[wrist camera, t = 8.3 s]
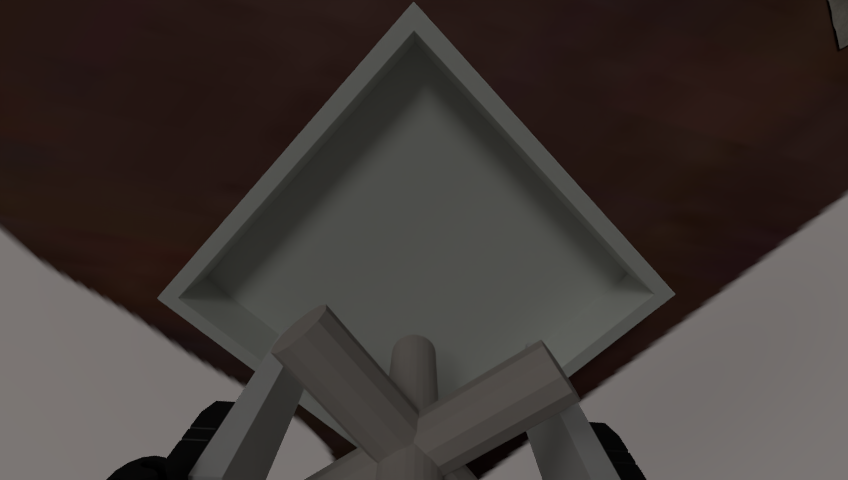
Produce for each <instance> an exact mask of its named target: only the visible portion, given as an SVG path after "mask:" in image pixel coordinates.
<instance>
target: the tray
mask: <svg viewBox="0 0 848 480" xmlns="http://www.w3.org/2000/svg"><path fill="white" fill-rule="evenodd" d="M674 295H675V293H674V292H673V291H672V290H671V289H670V288H669V286H668V285H667V284H666V283H665V282H664V281H663V280H662V279H661V277H660V276H659V275H658V274H657V273H656V272H655V271H654V270H653V269H652V267H651V266H650V265H649V264H648V263H647V262H646V261H645V260H644V258H643V257H642V256H641V255H640V254H639V253H638V252H637V251H636V250H635V248H634V247H633V246H632V245H631V244H630V243H629V242H628V241H627V239H626V238H625V237H624V236H623V235H622V234H621V233H620V232H619V231H618V229H617V228H616V227H615V226H614V225H613V224H612V223H611V222H610V220H609V219H608V218H607V217H606V216H605V215H604V214H603V213H602V212H601V210H600V209H599V208H598V207H597V206H596V205H595V204H594V203H593V201H592V200H591V199H590V198H589V197H588V196H587V195H586V194H585V193H584V191H583V190H582V189H581V188H580V187H579V186H578V185H577V184H576V182H575V181H574V180H573V179H572V178H571V177H570V176H569V175H568V174H567V172H566V171H565V170H564V169H563V168H562V167H561V166H560V165H559V163H558V162H557V161H556V160H555V159H554V158H553V157H552V156H551V154H550V153H549V152H548V151H547V150H546V149H545V148H544V147H543V146H542V144H541V143H540V142H539V141H538V140H537V139H536V138H535V137H534V135H533V134H532V133H531V132H530V131H529V130H528V129H527V128H526V127H525V125H524V124H523V123H522V122H521V121H520V120H519V119H518V118H517V116H516V115H515V114H514V113H513V112H512V111H511V110H510V109H509V108H508V106H507V105H506V104H505V103H504V102H503V101H502V100H501V99H500V97H499V96H498V95H497V94H496V93H495V92H494V91H493V90H492V89H491V87H490V86H489V85H488V84H487V83H486V82H485V81H484V80H483V78H482V77H481V76H480V75H479V74H478V73H477V72H476V71H475V70H474V68H473V67H472V66H471V65H470V64H469V63H468V62H467V61H466V59H465V58H464V57H463V56H462V55H461V54H460V53H459V52H458V51H457V49H456V48H455V47H454V46H453V45H452V44H451V43H450V42H449V40H448V39H447V38H446V37H445V36H444V35H443V34H442V33H441V32H440V30H439V29H438V28H437V27H436V26H435V25H434V24H433V23H432V21H431V20H430V19H429V18H428V17H427V16H426V15H425V14H424V12H423V11H422V10H421V9H420V8H419V7H418V6H417V5H416V4H415V2H413V3H412V4H411V5H410V6H409V8H408V9H407V10H406V11H405V12H404V13H403V15H402V16H401V17H400V18H399V19H398V20H397V21H396V23H395V24H394V25H393V26H392V27H391V28H390V30H389V31H388V32H387V33H386V34H385V35H384V37H383V38H382V39H381V40H380V41H379V42H378V43H377V45H376V46H375V47H374V48H373V49H372V50H371V52H370V53H369V54H368V55H367V56H366V57H365V58H364V60H363V61H362V62H361V63H360V64H359V65H358V67H357V68H356V69H355V70H354V71H353V72H352V74H351V75H350V76H349V77H348V78H347V79H346V80H345V82H344V83H343V84H342V85H341V86H340V87H339V89H338V90H337V91H336V92H335V93H334V94H333V95H332V97H331V98H330V99H329V100H328V101H327V102H326V104H325V105H324V106H323V107H322V108H321V109H320V110H319V112H318V113H317V114H316V115H315V116H314V117H313V119H312V120H311V121H310V122H309V123H308V124H307V126H306V127H305V128H304V129H303V130H302V131H301V132H300V134H299V135H298V136H297V137H296V138H295V139H294V141H293V142H292V143H291V144H290V145H289V146H288V147H287V149H286V150H285V151H284V152H283V153H282V154H281V156H280V157H279V158H278V159H277V160H276V161H275V163H274V164H273V165H272V166H271V167H270V168H269V169H268V171H267V172H266V173H265V174H264V175H263V176H262V178H261V179H260V180H259V181H258V182H257V183H256V184H255V186H254V187H253V188H252V189H251V190H250V191H249V193H248V194H247V195H246V196H245V197H244V198H243V200H242V201H241V202H240V203H239V204H238V205H237V206H236V208H235V209H234V210H233V211H232V212H231V213H230V215H229V216H228V217H227V218H226V219H225V220H224V221H223V223H222V224H221V225H220V226H219V227H218V228H217V230H216V231H215V232H214V233H213V234H212V235H211V237H210V238H209V239H208V240H207V241H206V242H205V243H204V245H203V246H202V247H201V248H200V249H199V250H198V252H197V253H196V254H195V255H194V256H193V257H192V258H191V260H190V261H189V262H188V263H187V264H186V265H185V267H184V268H183V269H182V270H181V271H180V272H179V273H178V275H177V276H176V277H175V278H174V279H173V280H172V282H171V283H170V284H169V285H168V286H167V287H166V289H165V290H164V291H163V292H162V293H161V294H160V295H159V297H158V298H157V299H159V300H160V301H161V302H163V303H164V304H165V305H167V306H168V307H169V308H171V309H172V310H173V311H175V312H176V313H177V314H179V315H180V316H181V317H183V318H184V319H186V320H187V321H188V322H190V323H191V324H192V325H194V326H195V327H196V328H198V329H199V330H200V331H202V332H203V333H204V334H206V335H207V336H208V337H210V338H211V339H212V340H214V341H215V342H216V343H218V344H219V345H221V346H222V347H223V348H225V349H226V350H227V351H229V352H230V353H231V354H233V355H234V356H235V357H237V358H238V359H239V360H241V361H242V362H243V363H245V364H246V365H247V366H249V367H250V368H251V369H253V370H254V371H255V372H256V370H257V368H258V367H259V365H260V364H261V362H262V361H263V359H264V358H265V356H266V355H267V353H268V352H269V350H270V349H271V347H272V345H273V344H274V342H275V341H276V339H277V338H278V336H279V335H280V333H281V332H282V330H283V329H284V327H291V326H292V325H293V324H294V323H295V322H296V321H297V320H299V319H300V318H301V317H303V316H304V315H305V314H306V313H308V312H309V311H311V310H313V309H314V308H316V307H318V306H320V305H327V306H328V307H329V308H330V309H331V310H332V312H333V313H334V314H335V315H336V316H337V317H338V318H339V320H340V321H341V322H342V323H343V324H344V325H345V327H346V328H347V329H348V330H349V331H350V332H351V333H352V335H353V336H354V337H355V338H356V339H357V340H358V342H359V343H360V344H361V345H362V346H363V347H364V348H365V350H366V351H367V352H368V353H369V354H370V355H371V357H372V358H373V359H374V360H375V361H376V362H377V364H378V365H379V366H380V367H381V368H382V369H383V370H384V372H385V373H386V374H387V375H388V376H389V372H390V365H391V357H392V350H393V347H394V345H395V343H396V342H397V341H398V340H399V339H401V338H402V337H404V336H407V335H420V336H423V337H425V338H427V339H428V340H429V341H430V342H432V344H433V346H434V348H435V352H436V368H437V385H438V400H440V399H441V398H443V397H445V396H447V395H448V394H450V393H452V392H453V391H455V390H457V389H458V388H460V387H462V386H463V385H465V384H467V383H468V382H470V381H472V380H474V379H475V378H477V377H479V376H480V375H482V374H484V373H485V372H487V371H489V370H490V369H492V368H494V367H495V366H497V365H499V364H501V363H502V362H504V361H506V360H507V359H509V358H511V357H512V356H514V355H516V354H517V353H519V352H521V351H522V350H524V349H525V346H526V343H536V342H538V341H539V340H542V341H543V342H544V343H545V345H546V346H547V347H548V349H549V350H550V352H551V353H552V355H553V356H554V357H555V359H556V360H557V362H558V363H559V365H560V366H561V368H562V370H563V371H564V373H565V374H566V376H567V377H570V376H571V375H572V374H573V373H575V372H576V371H577V370H579V369H580V368H581V367H582V366H584V365H585V364H586V363H588V362H589V361H590V360H591V359H593V358H594V357H595V356H597V355H598V354H599V353H600V352H602V351H603V350H604V349H606V348H607V347H608V346H609V345H611V344H612V343H613V342H615V341H616V340H617V339H618V338H620V337H621V336H622V335H624V334H625V333H626V332H627V331H629V330H630V329H631V328H633V327H634V326H635V325H636V324H638V323H639V322H640V321H642V320H643V319H644V318H645V317H647V316H648V315H649V314H651V313H652V312H653V311H654V310H656V309H657V308H658V307H660V306H661V305H662V304H663V303H665V302H666V301H667V300H669V299H670V298H671V297H672V296H674ZM299 404H300V405H301V406H303V407H304V408H305V409H307V410H308V411H309V412H311V413H312V414H313V415H315V416H316V417H317V418H319V419H320V420H321V421H323V422H324V423H325V424H327V425H328V426H329V427H331V428H332V429H334V430H335V431H336V432H338V433H339V434H340V435H342V436H343V437H344V438H346V439H347V440H348V441H350V442H351V443H352V444H354V445H355V446H356V447H358V448H359V447H360V446H359V445H358V444H357V443H356V442H355V441H354V440H353V439H352V438H351V437H350V436H349V435H348V434H347V433H346V432H345V431H344V430H343V428H342V427H341V426H340V425H339V424H338V423H337V422H336V421H335V420H334V419H333V418H332V417H331V416H330V415H329V414H328V413H327V412H326V411H325V410H324V409H323V407H322V406H321V405H320V404H319V403H318V402H317V401H316V400H315V399H314V398H313V397H312V396H311V395H310V394H309V393H308V392H307V391H306V390H305V389H304V391H303V393H302V396H301V398H300V400H299Z"/></svg>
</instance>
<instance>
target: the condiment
mask: <svg viewBox="0 0 848 480" xmlns="http://www.w3.org/2000/svg"><path fill="white" fill-rule="evenodd" d="M828 1H829V3H830V7H831V11H832V20H833V26H834V28H835V29H836V33H837V38H838V42H839V47H840V49H841V48H843V47H845V46H847V45H848V0H828Z"/></svg>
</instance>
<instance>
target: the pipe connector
mask: <svg viewBox="0 0 848 480" xmlns="http://www.w3.org/2000/svg"><path fill="white" fill-rule="evenodd" d="M271 354H272V355H273V356H274V357H275V358H276V359H277V360H278V361H279V362H280V363H281V364H282V365H283V367H284V368H285V369H286V370H287V371H288V372H289V373H290V374H291V375H292V376H293V377H294V378H295V379H296V380H297V381H298V382H299V383H300V384H301V385H302V386H303V388H304V389H305V390H306V391H307V392H308V393H309V394H310V395H311V396H312V397H313V398H314V399H315V400H316V401H317V402H318V403H319V404H320V405H321V406H322V407H323V409H324V410H325V411H326V412H327V413H328V414H329V415H330V416H331V417H332V418H333V419H334V420H335V421H336V422H337V423H338V424H339V425H340V426H341V427H342V428H343V430H344V431H345V432H346V433H347V434H348V435H349V436H350V437H351V438H352V439H353V440H354V441H355V442H356V443H357V444H358V445H359V446H360V447H359V448H357V449H355V450H354V451H352V452H350V453H349V454H347V455H345V456H344V457H342V458H340V459H338V460H337V461H335V462H333V463H332V464H330V465H328V466H327V467H325V468H323V469H322V470H320V471H319V472H317V473H315V474H313V475H312V476H310V477H308V478H306V479H305V480H478V479H477V478H476V477H475V475H474V474H473V473H472V472H471V471H470V470H469V469H468V467H467V466H466V465H465V464H467V463H469V462H470V461H472V460H474V459H476V458H478V457H480V456H481V455H483V454H485V453H487V452H489V451H490V450H492V449H494V448H496V447H498V446H499V445H501V444H503V443H505V442H507V441H509V440H510V439H512V438H514V437H516V436H518V435H519V434H521V433H523V432H525V431H527V430H529V429H530V428H532V427H534V426H536V425H538V424H539V423H541V422H543V421H545V420H547V419H548V418H550V417H552V416H554V415H556V414H558V413H559V412H561V411H563V410H565V409H567V408H568V407H570V406H572V405H574V404H576V403H577V402H579V401H581V400H580V398H579V396H578V394H577V392H576V391H575V389H574V387H573V386H572V384H571V382H570V381H569V379H568V377H567V376H566V374H565V373H564V371H563V370H562V368H561V366H560V365H559V363H558V362H557V360H556V359H555V357H554V356H553V355H552V353H551V352H550V350H549V349H548V347H547V346H546V345H545V343H544V342H543V341H542V340H539V341H538V342H536V343H534V344H533V345H531V346H529V347H528V348H526V349H524V350H522V351H521V352H519V353H517V354H516V355H514V356H512V357H511V358H509V359H507V360H506V361H504V362H502V363H501V364H499V365H497V366H495V367H494V368H492V369H490V370H489V371H487V372H485V373H484V374H482V375H480V376H479V377H477V378H475V379H474V380H472V381H470V382H468V383H467V384H465V385H463V386H462V387H460V388H458V389H457V390H455V391H453V392H452V393H450V394H448V395H447V396H445V397H443V398H441V399H440V400H438V385H437V368H436V352H435V348H434V346H433V344H432V342H430V341H429V340H428V339H427V338H425V337H423V336H420V335H407V336H404V337H402V338H401V339H399V340H398V341H397V342H396V343H395V345H394V347H393V350H392V357H391V365H390V372H389V376H388V375H387V374H386V373H385V372H384V370H383V369H382V368H381V367H380V366H379V365H378V364H377V362H376V361H375V360H374V359H373V358H372V357H371V355H370V354H369V353H368V352H367V351H366V350H365V348H364V347H363V346H362V345H361V344H360V343H359V342H358V340H357V339H356V338H355V337H354V336H353V335H352V333H351V332H350V331H349V330H348V329H347V328H346V327H345V325H344V324H343V323H342V322H341V321H340V320H339V318H338V317H337V316H336V315H335V314H334V313H333V312H332V310H331V309H330V308H329V307H328V306H327V305H320V306H318V307H316V308H314V309H313V310H311V311H309V312H308V313H306V314H305V315H304V316H303V317H301V318H300V319H299V320H297V321H296V322H295V323H294V324H293V325H292V326H291V327H290V328H289V329H288V330H286V331H285V332H284V333H283V334H282V336H281V337H280V338H279V339H278V340H277V342H276V343H275V344H274V345H273V348H272V350H271Z"/></svg>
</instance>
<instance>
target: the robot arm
mask: <svg viewBox="0 0 848 480" xmlns="http://www.w3.org/2000/svg"><path fill="white" fill-rule="evenodd" d="M289 328H290V327H284V329H283V330H282V332H281V333H280V335H279V336H278V338H277V339H276V341H275V342H274V344H275V343H276V342H277V340H278V339H279V338H280V337H281V336H282V334H283V333H284V332H285V331H286V330H288V329H289ZM274 344H273V345H274ZM533 344H534V343H526V346H525V349H526V348H528V347H529V346H531V345H533ZM273 345H272V347H271V349H270V350H269V352H268V353H267V355H266V356H265V358H264V359H263V361H262V362H261V364H260V365H259V367H258V368H257V370H256V372H255V373H254V375H253V376H252V378H251V379H250V381H249V382H248V384H247V385H246V387H245V388H244V390H243V392H242V393H241V395H240V396H239V398H238V399H237V401H236V402H226V401H216V402H214V403H213V404H212V405H210V406H209V407H207V408H206V409H205V410H203V411H202V412H201V413H200V414H199V416H198V417H197V418H196V420H195V421H194V423H193V424H192V425H191V427H190V429H188V430H187V432H186V433H185V434H184V436H183V437H182V440H181V441H179V442H178V444H177V445H176V446H175V448H174V449H173V450H172V452H171V453H170V454H169V456H168V457H167V458H165V457H160V456H149V457H142V458H140V459H137V460H134V461H131V462H129V463H127V464H126V465H124V466H122V467H121V468H119V469H117V470H116V471H115V472H114V473H113V474H112V475H111V476H110V477H109V478H108V479H107V480H266V478H267V475H268V473H269V470H270V468H271V466H272V464H273V461H274V459H275V457H276V454H277V452H278V450H279V447H280V445H281V442H282V440H283V438H284V435H285V433H286V431H287V429H288V426H289V424H290V421H291V419H292V417H293V415H294V412H295V410H296V408H297V405H298V403H299V400H300V398H301V396H302V393H303V391H304V388H303V386H302V385H301V384H300V383H299V382H298V381H297V380H296V379H295V378H294V377H293V376H292V375H291V374H290V373H289V372H288V371H287V370H286V369H285V368H284V367H283V365H282V364H281V363H280V362H279V361H278V360H277V359H276V358H275V357H274V356H273V355H272V354H271V350H272V348H273ZM526 432H527V435H528V438H529V441H530V444H531V447H532V450H533V453H534V456H535V458H536V462H537V465H538V467H539V470H540V473H541V476H542V479H543V480H646V478H645V477H644V475H643V473H642V472H641V470H640V469H639V467H638V466H637V465H636V464H635V461H634V459H633V458H632V456H631V454H630V453H628V449H627V448H626V446H625V445H624V443H623V442H622V440H621V438H620V437H619V436H618V435H617V434H616V433H615V432H614V431H613V430H612V429H611V428H610V427H609V426H607V425H606V424H605V423H595V422H588V420H587V418H586V417H585V415H584V413H583V411H582V409H581V408H580V406H579V404H578V402H577V403H576V404H574V405H572V406H570V407H568V408H567V409H565V410H563V411H561V412H559V413H558V414H556V415H554V416H552V417H550V418H548V419H547V420H545V421H543V422H541V423H539V424H538V425H536V426H534V427H532V428H530V429H529V430H527V431H526Z"/></svg>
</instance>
